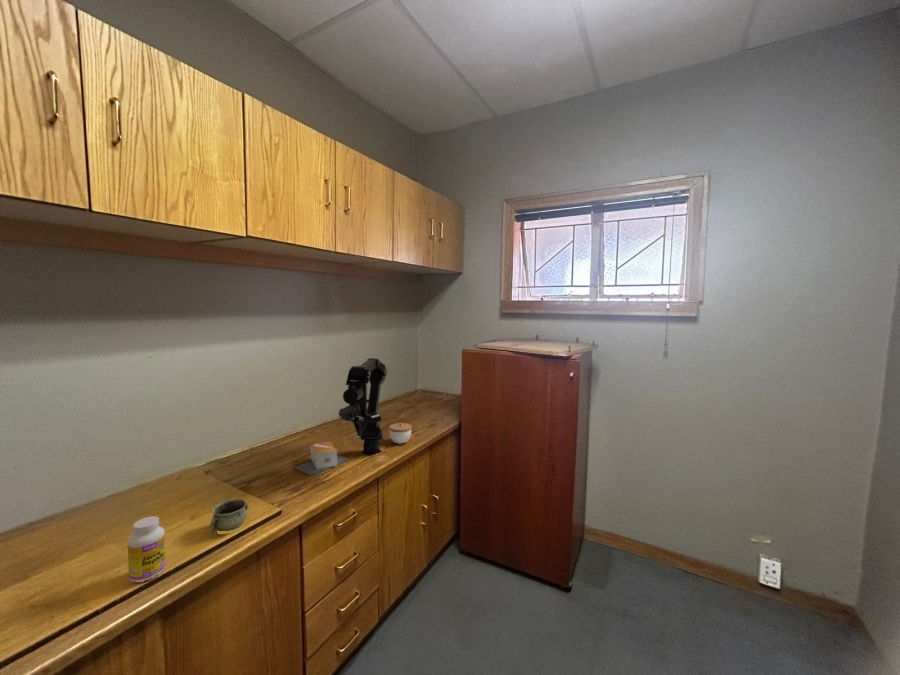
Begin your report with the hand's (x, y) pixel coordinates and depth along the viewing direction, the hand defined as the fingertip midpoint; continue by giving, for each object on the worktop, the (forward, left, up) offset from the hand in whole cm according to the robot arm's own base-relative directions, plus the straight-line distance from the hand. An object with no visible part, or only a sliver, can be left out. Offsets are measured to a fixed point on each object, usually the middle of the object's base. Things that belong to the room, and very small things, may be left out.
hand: (359, 436), depth 143 cm
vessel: (+49, 0, -13) cm, 51 cm away
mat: (+7, -15, -13) cm, 21 cm away
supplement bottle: (+69, +4, -13) cm, 70 cm away
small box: (+9, -9, -9) cm, 16 cm away
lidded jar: (-31, -6, -13) cm, 34 cm away
